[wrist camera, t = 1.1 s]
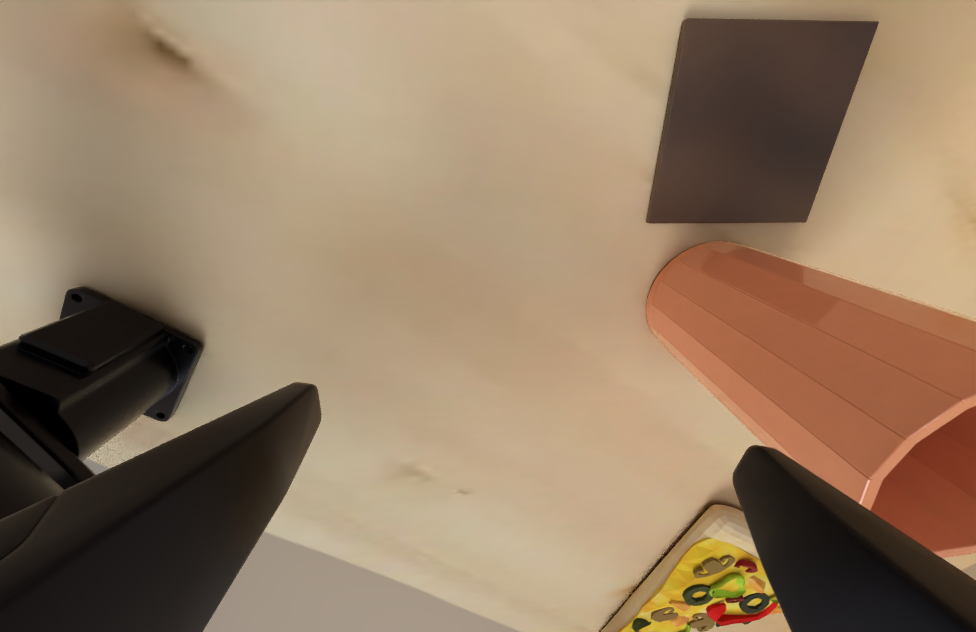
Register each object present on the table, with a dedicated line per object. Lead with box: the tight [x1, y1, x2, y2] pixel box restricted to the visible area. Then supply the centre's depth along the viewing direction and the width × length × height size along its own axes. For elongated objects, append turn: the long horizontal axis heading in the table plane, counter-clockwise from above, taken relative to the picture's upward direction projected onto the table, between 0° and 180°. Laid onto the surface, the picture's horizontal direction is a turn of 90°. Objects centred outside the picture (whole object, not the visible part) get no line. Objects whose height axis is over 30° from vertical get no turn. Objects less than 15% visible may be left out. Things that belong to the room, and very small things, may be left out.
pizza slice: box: [601, 505, 782, 632], centre depth 31 cm, size 16×21×3 cm
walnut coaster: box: [646, 18, 879, 223], centre depth 17 cm, size 8×8×1 cm
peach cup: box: [646, 241, 976, 558], centre depth 15 cm, size 7×7×12 cm
